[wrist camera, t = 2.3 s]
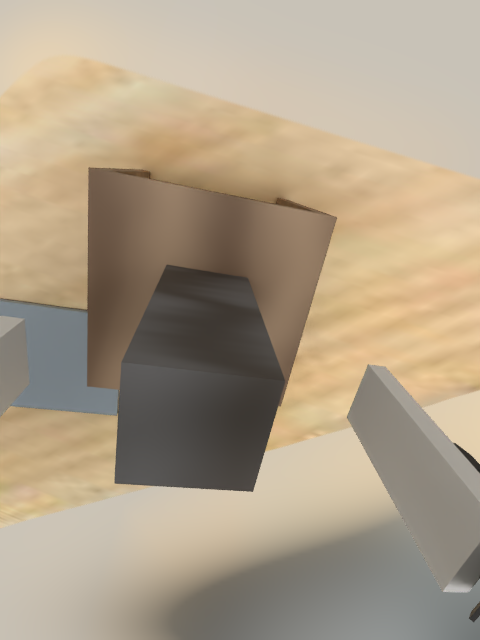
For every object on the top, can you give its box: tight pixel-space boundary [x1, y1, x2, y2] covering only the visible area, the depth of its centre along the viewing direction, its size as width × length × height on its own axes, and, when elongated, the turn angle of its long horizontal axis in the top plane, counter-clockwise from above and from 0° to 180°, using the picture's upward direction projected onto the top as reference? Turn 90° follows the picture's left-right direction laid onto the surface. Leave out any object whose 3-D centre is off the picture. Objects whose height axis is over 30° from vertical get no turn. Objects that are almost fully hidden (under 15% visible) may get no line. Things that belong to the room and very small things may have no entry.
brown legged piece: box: [87, 168, 337, 492], centre depth 20 cm, size 13×13×22 cm
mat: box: [0, 299, 119, 416], centre depth 33 cm, size 12×12×1 cm
